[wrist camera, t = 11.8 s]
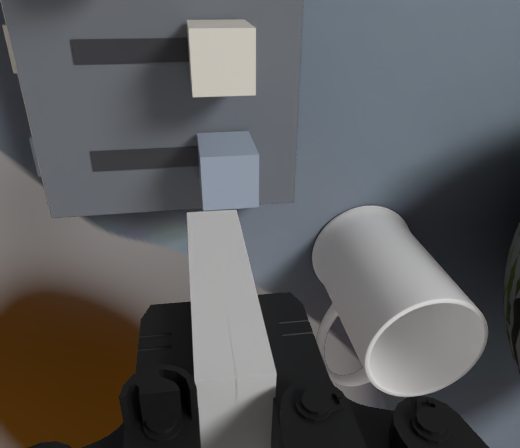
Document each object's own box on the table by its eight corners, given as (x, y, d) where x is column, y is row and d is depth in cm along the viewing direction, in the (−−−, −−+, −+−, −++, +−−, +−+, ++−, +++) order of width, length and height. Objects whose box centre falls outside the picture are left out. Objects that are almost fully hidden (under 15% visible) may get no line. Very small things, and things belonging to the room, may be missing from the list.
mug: (323, 329, 43) (371, 444, 33) (261, 278, 39) (292, 390, 29) (427, 247, 40) (515, 343, 30) (371, 184, 36) (450, 270, 26)
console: (-15, -163, 23) (-60, -193, 19) (288, -149, 26) (311, -173, 21) (60, 185, 33) (41, 219, 28) (279, 173, 35) (294, 203, 30)
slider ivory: (186, 19, 24) (188, 28, 21) (244, 19, 24) (255, 27, 21) (190, 79, 25) (192, 97, 22) (244, 78, 26) (255, 95, 22)
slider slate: (196, 133, 27) (200, 157, 23) (248, 130, 27) (259, 154, 24) (199, 181, 28) (203, 210, 25) (248, 178, 29) (258, 207, 25)
